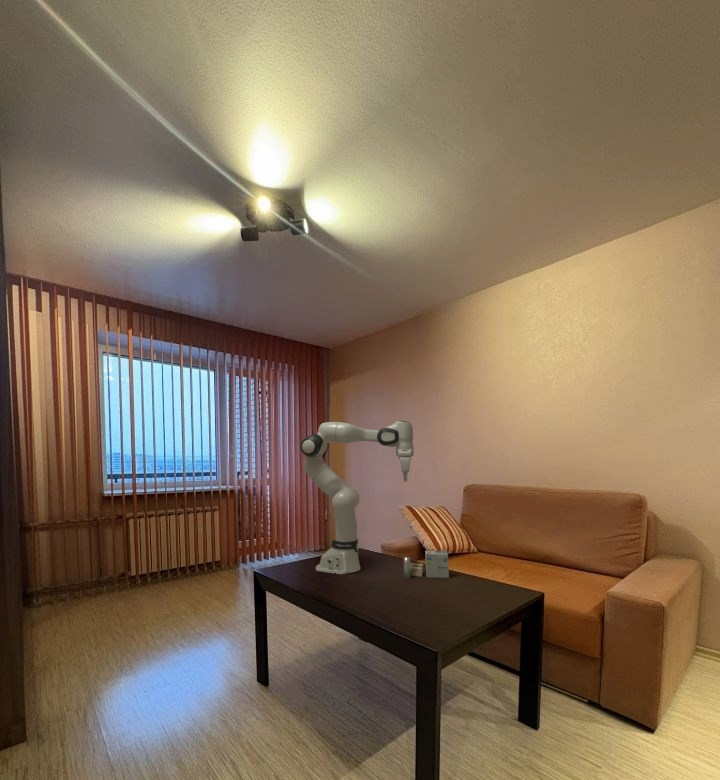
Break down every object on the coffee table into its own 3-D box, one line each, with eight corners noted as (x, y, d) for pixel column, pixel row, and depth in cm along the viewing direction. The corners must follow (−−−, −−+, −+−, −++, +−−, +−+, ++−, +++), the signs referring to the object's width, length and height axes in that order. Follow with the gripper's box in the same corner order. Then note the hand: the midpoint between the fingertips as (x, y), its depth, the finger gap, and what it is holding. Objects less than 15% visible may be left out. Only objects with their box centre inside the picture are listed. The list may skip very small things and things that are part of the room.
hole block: (404, 575, 192) (404, 567, 192) (406, 570, 199) (406, 563, 200) (421, 576, 190) (421, 568, 190) (423, 571, 197) (423, 564, 198)
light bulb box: (447, 573, 194) (447, 550, 195) (449, 578, 187) (448, 554, 189) (425, 573, 195) (424, 550, 196) (426, 577, 188) (425, 553, 190)
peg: (403, 578, 187) (403, 558, 189) (404, 576, 190) (404, 556, 192) (410, 578, 187) (409, 558, 188) (410, 576, 190) (410, 556, 191)
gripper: (398, 452, 213) (399, 479, 211) (398, 453, 193) (398, 482, 191) (410, 452, 213) (411, 479, 211) (411, 452, 192) (412, 482, 190)
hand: (405, 480), depth 201 cm, fingers open, 8 cm apart
